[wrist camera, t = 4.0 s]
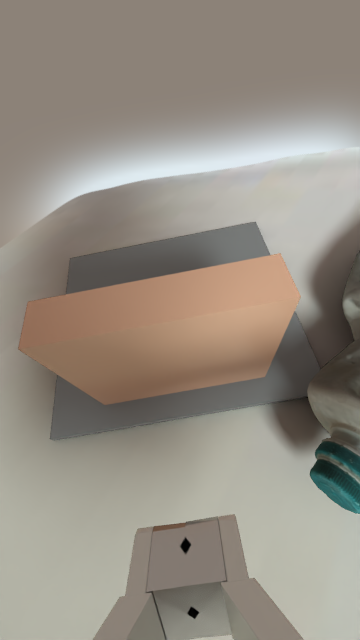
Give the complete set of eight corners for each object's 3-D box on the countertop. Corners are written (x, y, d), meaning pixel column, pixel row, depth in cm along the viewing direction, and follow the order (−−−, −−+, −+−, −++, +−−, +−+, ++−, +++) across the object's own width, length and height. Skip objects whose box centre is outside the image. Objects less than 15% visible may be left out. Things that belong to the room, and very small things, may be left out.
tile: (104, 405, 20) (18, 349, 11) (105, 371, 21) (28, 298, 13) (264, 376, 19) (300, 296, 11) (254, 343, 21) (278, 250, 12)
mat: (54, 440, 20) (49, 439, 19) (72, 262, 29) (70, 258, 28) (327, 393, 19) (330, 391, 18) (255, 226, 28) (255, 221, 28)
